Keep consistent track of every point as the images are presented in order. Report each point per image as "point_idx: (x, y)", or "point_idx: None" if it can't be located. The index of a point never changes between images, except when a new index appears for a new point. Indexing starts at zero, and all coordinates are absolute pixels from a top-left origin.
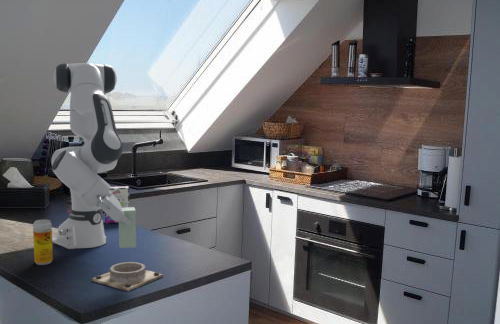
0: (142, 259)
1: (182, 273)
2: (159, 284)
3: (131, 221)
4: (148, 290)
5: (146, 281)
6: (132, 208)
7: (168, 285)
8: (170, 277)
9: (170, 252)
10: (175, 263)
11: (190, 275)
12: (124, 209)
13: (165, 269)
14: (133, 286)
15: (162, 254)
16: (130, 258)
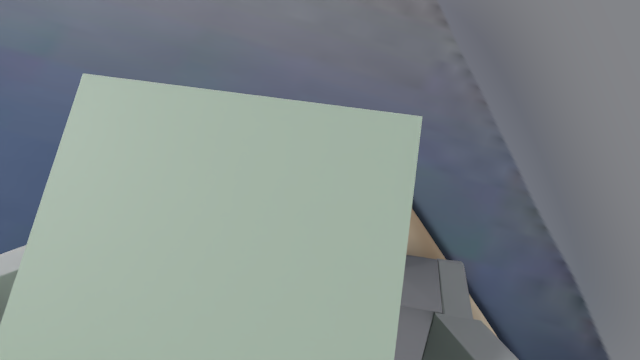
0: (55, 153)
1: (351, 41)
2: (460, 180)
3: (463, 265)
4: (526, 253)
5: (427, 233)
6: (200, 135)
7: (489, 145)
8: (383, 105)
9: (29, 3)
10: (199, 28)
11: (393, 19)
12: (218, 338)
13: (261, 94)
14: (484, 319)
15: (36, 44)
16: (3, 205)
